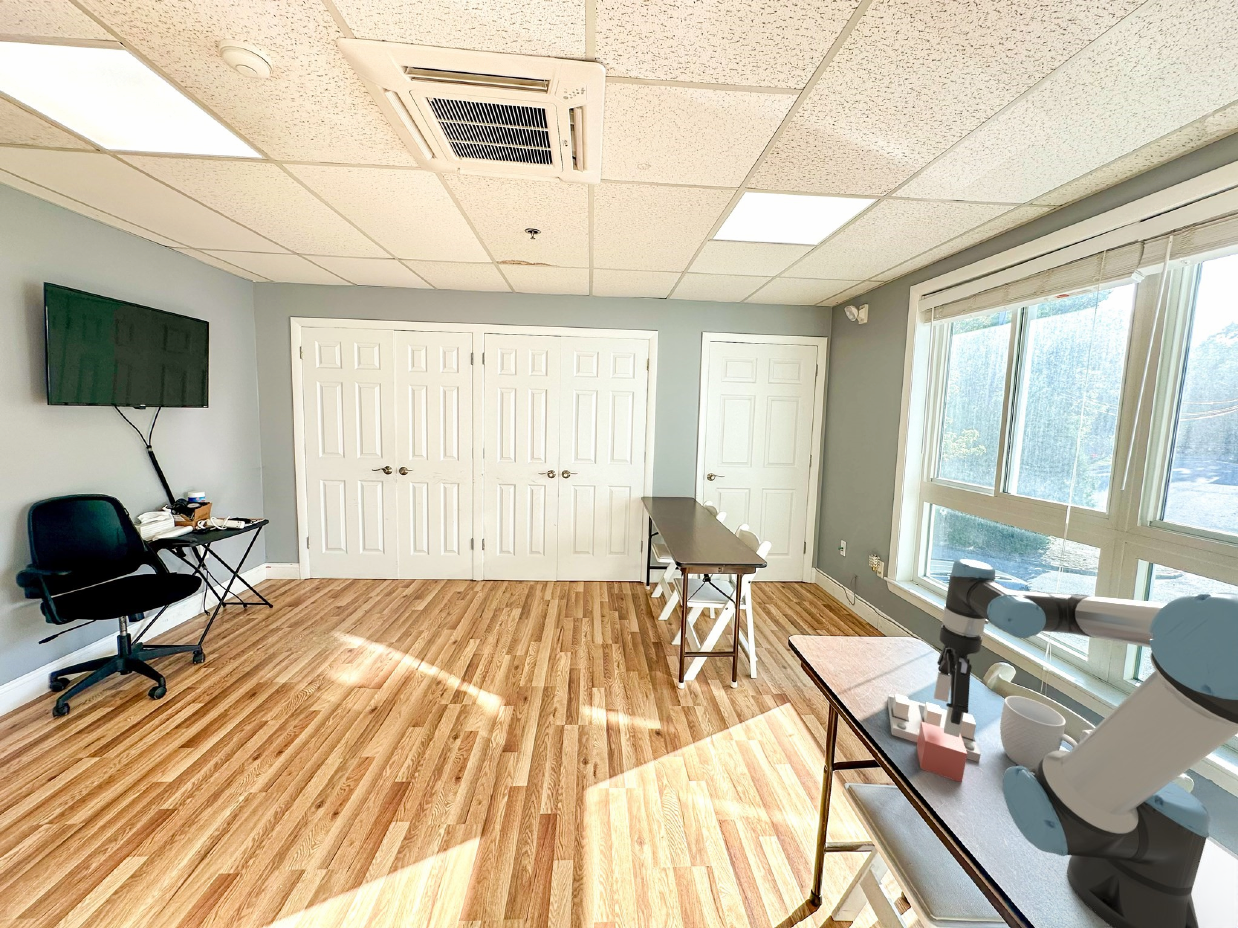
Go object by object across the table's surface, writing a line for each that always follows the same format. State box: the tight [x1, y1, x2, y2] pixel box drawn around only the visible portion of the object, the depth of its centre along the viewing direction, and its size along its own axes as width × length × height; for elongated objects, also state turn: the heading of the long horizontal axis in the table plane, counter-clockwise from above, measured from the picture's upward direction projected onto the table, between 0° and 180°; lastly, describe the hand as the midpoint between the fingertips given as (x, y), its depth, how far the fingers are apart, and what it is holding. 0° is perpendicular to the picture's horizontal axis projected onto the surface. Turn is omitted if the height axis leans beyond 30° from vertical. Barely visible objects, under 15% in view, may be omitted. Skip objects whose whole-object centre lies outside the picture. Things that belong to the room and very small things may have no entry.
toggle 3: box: [960, 713, 977, 739], centre depth 119 cm, size 4×3×4 cm
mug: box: [999, 695, 1079, 768], centre depth 111 cm, size 15×11×13 cm
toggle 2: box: [923, 701, 942, 727], centre depth 122 cm, size 4×3×4 cm
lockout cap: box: [916, 721, 968, 783], centre depth 110 cm, size 8×8×7 cm
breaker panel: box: [887, 693, 982, 763], centre depth 123 cm, size 16×18×2 cm
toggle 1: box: [893, 693, 910, 720], centre depth 125 cm, size 4×3×4 cm
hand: (945, 715), depth 109 cm, fingers open, 13 cm apart
